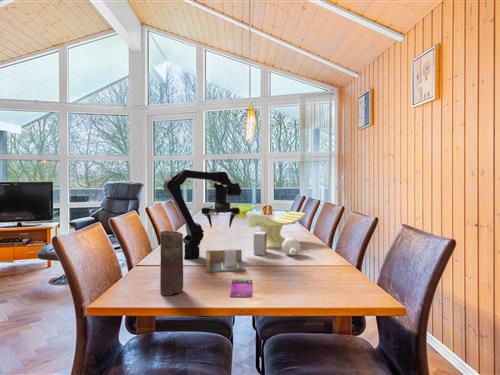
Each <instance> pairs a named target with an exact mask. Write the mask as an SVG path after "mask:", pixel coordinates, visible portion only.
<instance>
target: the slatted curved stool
mask: <svg viewBox="0 0 500 375" xmlns="http://www.w3.org/2000/svg"><path fill="white" fill-rule="evenodd" d="M306 218H307V212H299V211H291V210H290V211H287V212H285V214H282V215H280V216H279V217H276V218H273V219H272V218H270V217H269V216H265V215H260V214H253V213H252V214H250V215H249V217H248V227H249V228H253V229H254V228H256V227H260V228H259V229H260V232H267V245H268V246H270V247H273V246H274V247H275V248H277V249H279V248H282V244H283V241H284V240H285V239H286V238H284V237H283V236H282V235H281V230H282V228H283V226H288V225H296V223H299V222H300V221H303V219H306Z"/></svg>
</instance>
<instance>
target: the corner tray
mask: <svg viewBox="0 0 500 375" xmlns="http://www.w3.org/2000/svg"><path fill="white" fill-rule="evenodd" d="M225 250H226V249H215V250H214V249H212V250H209V249H208V250H206V251H205V273H207V274H208V273H229V272H230V273H231V272H246V271H247V270H246V267H245V264H244V263H243V260H242V259H243V258H242V257H243V251H242V249H235V250H236V268H225V266H224V259H225Z"/></svg>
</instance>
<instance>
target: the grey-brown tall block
mask: <svg viewBox="0 0 500 375" xmlns="http://www.w3.org/2000/svg"><path fill="white" fill-rule="evenodd" d="M183 235H184V233H181V232H180V231H174V230H173V231H172V230H171V231H170V230H162V231H160V274H159V278H160V279H159V280H160V281H159V282H160V283H159V284H160V286H159V287H160V294H161V295H162V296H171V295H172V294H173V295H174V294H178V293H180V292H181V291H182V290H183V289H184V242H183V239H184V236H183Z"/></svg>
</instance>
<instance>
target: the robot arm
mask: <svg viewBox="0 0 500 375" xmlns="http://www.w3.org/2000/svg"><path fill="white" fill-rule="evenodd" d="M187 179H196V180H205V181H206V180H207V181H210V182H213V184H212V185H211V186H210V188H214V208H210V206H209V207H208V206H207V207H205V206H203V207H202V208H201V214H202V215H204V216H206V218H207V220H208V223H209V226H210V229H212V228H213V226H212V224H213V223H212V216H211V213H216V214H219V213H223V214H226V213H230V214H229V221H228V222H229V223H228V225H229V226H228V227H229V228H231V227H232V223H233V220H234V218H235V216H238V214H240V212H241V210H240V208H239V207H238V206H237V207H236V206H235V207H234V206H233V207H232V206H231V202H227V196H228V197H240V196H241V194H242V189H241V188H242V187H241V186H240V183H238V182H234V183H232V180H231V179H230V178H229V175H228V173H227V172H226V171H212V172H210V171H209V172H208V171H201V170H200V171H198V170H189V169H182V170H180V171H179V172H178V173H177V174H175V175H174V176H173V177H172V178H170V179H169V178H168V179H166V180H165V181H164V183H163V185H162V187H163V189H164V191H165V192H166V194H168V196H169V197H170V198H171V199H172V200H173V203H174V204H175V206H176V208H177V210H178V213H179V215H180V216H181V217H180V218H182V221H183V222H184V224H185V231H186V235H185V236H183V244H184V255H183V260H192V259H193V260H195V259H196V260H197V259H199V257H200V252H201V251H200V245H201V242H202V240H203V239H204V232H205V231H204V230H203V229H202V225H201V224H200V223H197V222H195V220H194V218H193V216H192V214H191V212H190V210H189V208H188V206H187V204H186V202H185V200H184V198H183V195H182V188H181V186H182V185H183V184H184V183H185V182H186V181H187Z"/></svg>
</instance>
